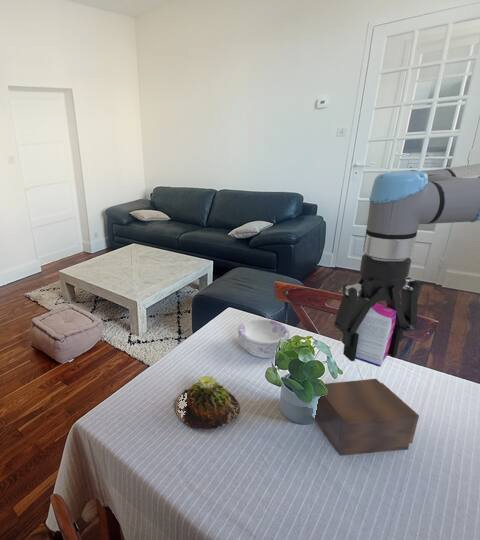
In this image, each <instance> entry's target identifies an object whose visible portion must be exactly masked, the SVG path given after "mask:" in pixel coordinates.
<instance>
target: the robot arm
mask: <svg viewBox="0 0 480 540" xmlns="http://www.w3.org/2000/svg"><path fill="white" fill-rule="evenodd" d="M368 207H369V208H368V215H367V223H366V229H365V234H364V242H363V249H362V252H363V255H362V256H361V260H360V261H361V262H360V269H359V271H360V279H359V280H358V282H357V283H355V284H351V285H350V284H348V283H345V284H343V286H342V294H343V295H342V297H341V301H340V304H339V307H338V310H337V314H336V316H335V319H334V323H333V326H334V327H335V328H336V329H337V330H338V331H340V332H341V333H342V335H341V343H342V344H343V345H344V346H343V352H342V355H343V356H345V358H346V359H348V360H349V361H350V362H355V361H356V359H355V356H356V350H357V343H358V337H359V334H358V333H356V330H357V329H358V327H359V326H360V324H361V322H362V321H363V319H364V318H365V316H366V314H367V313H368V311H369V310H370V308H371V307H373V306H375V304H377V303H379V302H382V301H385V305H386V306H388V307H390V308H392V309H394V310H395V311H396V321H395V325H394V329H393V334H392V338H391V343H390V347H389V351H388V355H389V356H390V357H391V358H396V357H397V354H398V350H399V345H400V342H401V341H402V340H403V338H404V333H405V332H409V331H410V330H411V326H416V325H417V322H418V294H419V291H420V288H421V285H422V283H421V282H420V281H418V280H416V279H414V278H411V277H410V276H409V275H410V269H411V264H412V259H411V258H412V257H413V254H414V250H415V245H416V240H417V234H418V230H419V226H420V225H432V224H449V223H450V224H451V223H452V224H453V223H475V222H480V163H475V164H469V165H468V164H466V165H459V166H452V167H445V168H437V169H429V170H421V171H419V170H416V169H410V170H407V169H406V170H399V171H398V170H397V171H389V172H388V171H387V172H384V173H380V174H378V175H377V176H376V177H375V178H374V181H373V185H372V188H371V192H370V197H369V205H368ZM408 276H409V277H408ZM400 291H401V295H400Z"/></svg>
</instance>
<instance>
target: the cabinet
mask: <svg viewBox="0 0 480 540" xmlns="http://www.w3.org/2000/svg"><path fill="white" fill-rule="evenodd" d="M381 383H382V382H380V381H379V380H378V379H377V378H367V379H358V380H350V381H349V380H348V381H338V382H329V383H324V384H325V386H326V387H327V389H328V394H327V395H324V396H321V397H320V398H319V399H318V404H317V410H316V415H315V420H314V422H315V423H316V424H317V426H318V427H319V428H320V430H321V431H322V432H323V434H324V435H325V437H326V438H327V439H328V441H329V442H330V444H331V445H332V447H333V448H334V449H335V451H336V452H337V453H338V455H339V456H350V455H351V456H352V455H361V454H363V455H364V454H373V453H382V452H394V451H404V450H409V446H410V444H411V443H410V439H411V435H412V431H413V427H414V423H415V419H416V414H415V413H414V412H413V411H414V410H413V409H412V408H411V409H412V410H413V411H412V410H411V409H409V408H408V407H407V406H406V405H405V404H404V403H405V402H404V401H403V400H402V401H403V402H404V403H403V402H402V401H400V400H399V399H398V398H397V397H396V396H395V395H396V394H395V393H394V392H393V393H394V394H395V395H394V394H393V393H391V392H390V391H389V390H388V389H387V388H386V387H387V386H386V385H385V384H384V383H383V384H384V385H385V386H386V387H385V386H384V385H383V384H381ZM409 443H410V444H409Z"/></svg>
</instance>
